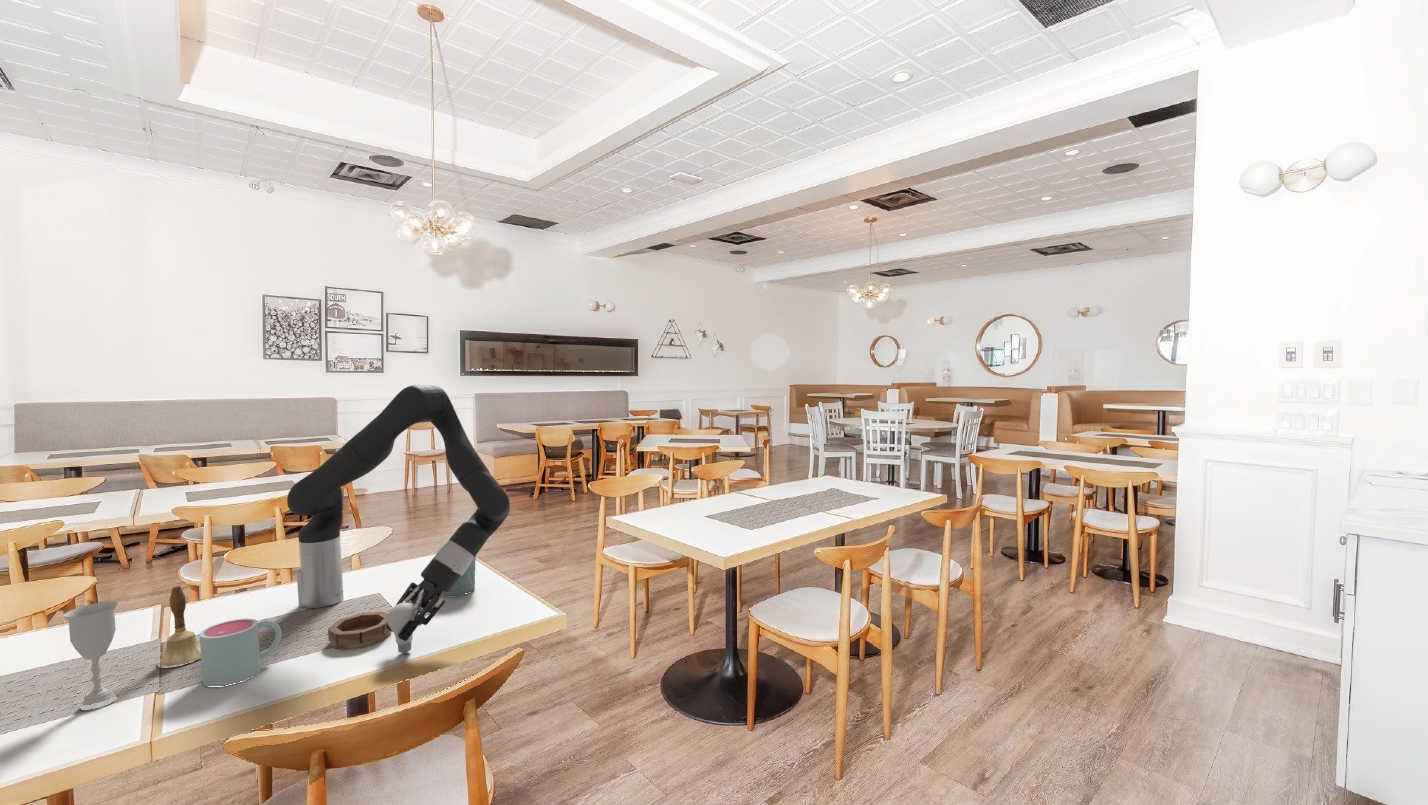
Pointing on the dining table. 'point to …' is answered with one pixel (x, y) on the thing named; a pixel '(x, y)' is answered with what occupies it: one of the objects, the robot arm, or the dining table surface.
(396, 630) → the lightbulb
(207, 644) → the mug
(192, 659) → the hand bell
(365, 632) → the holder
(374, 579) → the dining table surface
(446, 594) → the teal cylindrical pot
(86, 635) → the chalice
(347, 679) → the dining table surface
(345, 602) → the dining table surface
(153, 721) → the dining table surface
